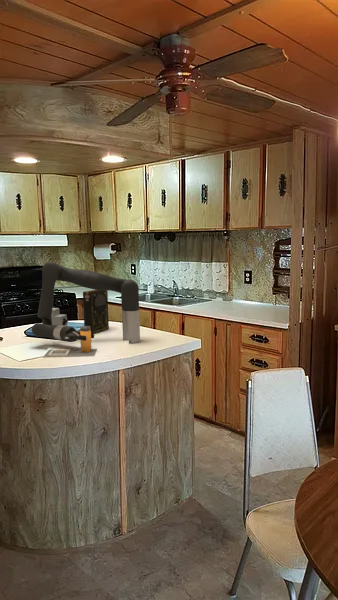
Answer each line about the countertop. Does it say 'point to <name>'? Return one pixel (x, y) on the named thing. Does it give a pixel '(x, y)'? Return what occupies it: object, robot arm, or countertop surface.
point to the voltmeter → (96, 310)
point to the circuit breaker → (58, 318)
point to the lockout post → (86, 332)
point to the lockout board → (69, 353)
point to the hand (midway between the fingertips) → (89, 337)
